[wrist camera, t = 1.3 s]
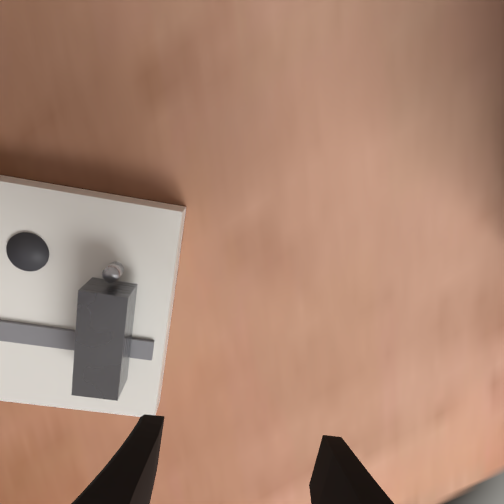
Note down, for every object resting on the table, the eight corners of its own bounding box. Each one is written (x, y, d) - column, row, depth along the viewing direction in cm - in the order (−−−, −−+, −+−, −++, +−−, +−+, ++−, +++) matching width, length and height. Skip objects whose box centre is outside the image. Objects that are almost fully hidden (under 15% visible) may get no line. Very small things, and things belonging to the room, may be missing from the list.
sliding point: (85, 374, 18) (71, 395, 17) (93, 258, 17) (79, 269, 15) (127, 379, 18) (117, 400, 17) (139, 265, 17) (130, 277, 15)
